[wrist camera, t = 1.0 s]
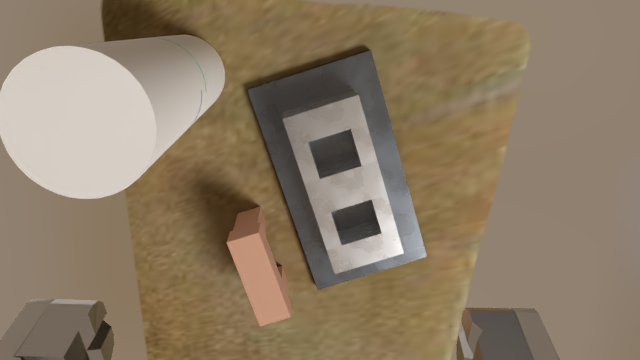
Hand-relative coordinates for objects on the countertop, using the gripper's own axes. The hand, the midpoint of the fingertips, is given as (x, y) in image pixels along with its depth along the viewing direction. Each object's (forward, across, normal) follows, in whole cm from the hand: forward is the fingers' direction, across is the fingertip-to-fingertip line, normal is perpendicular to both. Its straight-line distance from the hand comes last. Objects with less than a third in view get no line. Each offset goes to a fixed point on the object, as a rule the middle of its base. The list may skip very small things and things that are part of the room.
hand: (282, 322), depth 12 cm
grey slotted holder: (+35, +2, -18) cm, 40 cm away
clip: (+33, -6, -25) cm, 42 cm away
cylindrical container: (+37, -13, -8) cm, 40 cm away
